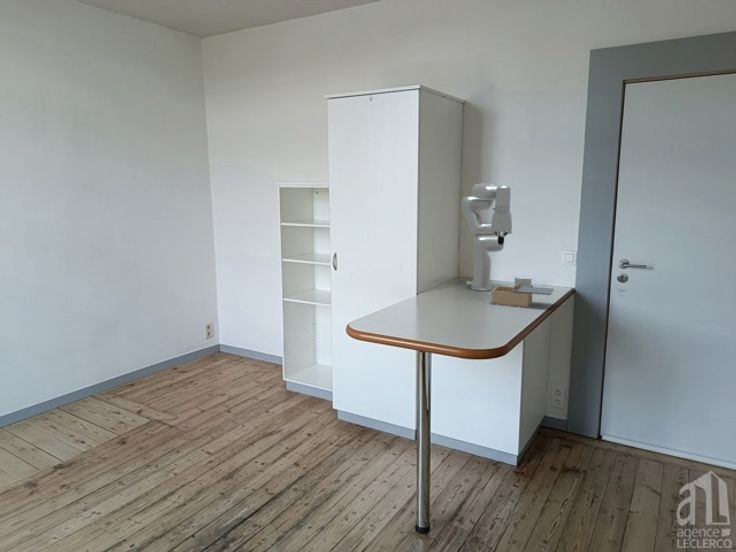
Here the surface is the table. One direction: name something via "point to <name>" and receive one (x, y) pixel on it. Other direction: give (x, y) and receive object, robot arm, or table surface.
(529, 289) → the lid
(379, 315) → the table surface
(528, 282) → the small box
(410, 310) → the table surface
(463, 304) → the table surface
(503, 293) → the tray
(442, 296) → the table surface
